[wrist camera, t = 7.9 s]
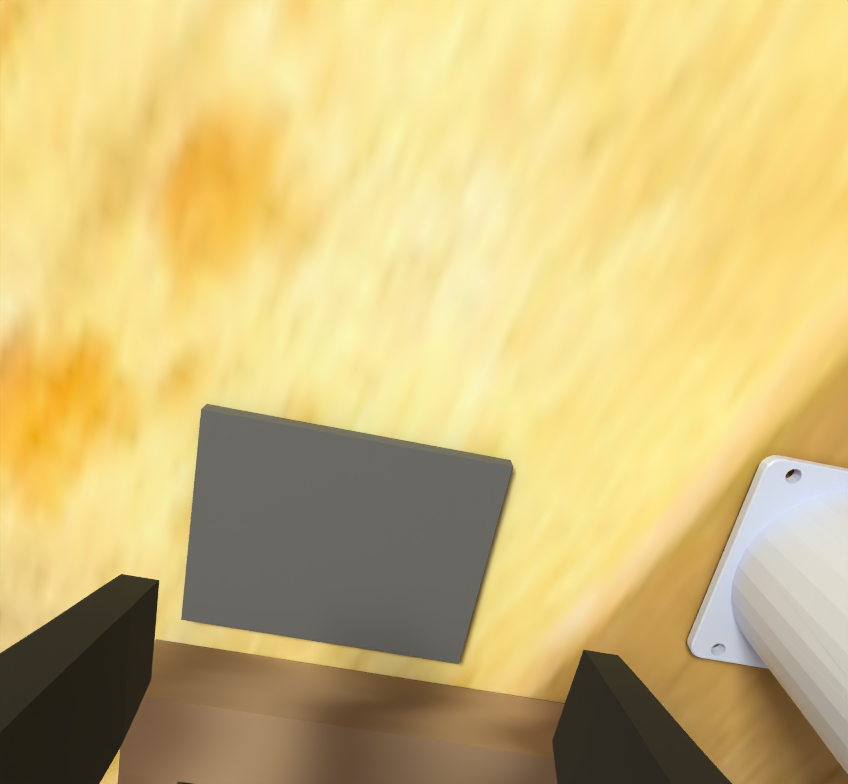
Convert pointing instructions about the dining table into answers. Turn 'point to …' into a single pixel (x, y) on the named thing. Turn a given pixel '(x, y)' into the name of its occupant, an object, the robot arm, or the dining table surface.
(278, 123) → the dining table surface
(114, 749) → the robot arm
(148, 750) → the socket board
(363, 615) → the mat
